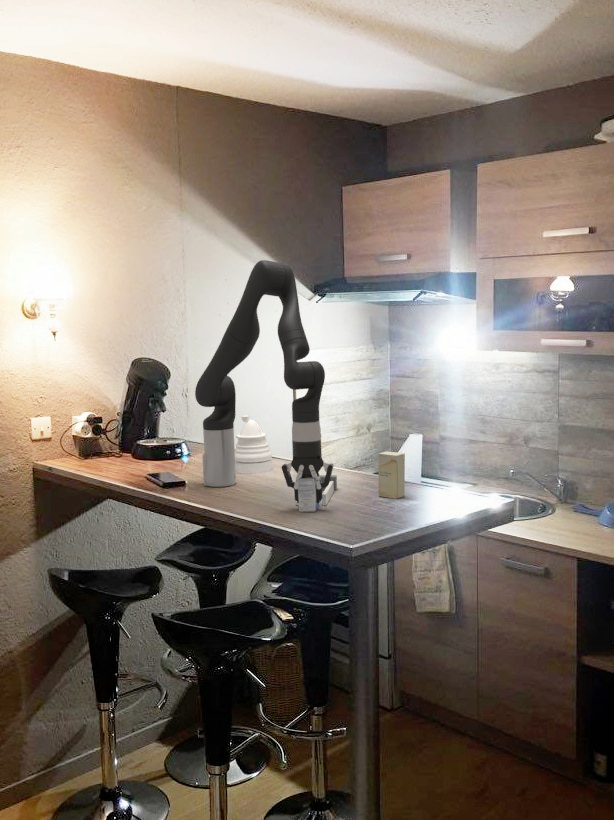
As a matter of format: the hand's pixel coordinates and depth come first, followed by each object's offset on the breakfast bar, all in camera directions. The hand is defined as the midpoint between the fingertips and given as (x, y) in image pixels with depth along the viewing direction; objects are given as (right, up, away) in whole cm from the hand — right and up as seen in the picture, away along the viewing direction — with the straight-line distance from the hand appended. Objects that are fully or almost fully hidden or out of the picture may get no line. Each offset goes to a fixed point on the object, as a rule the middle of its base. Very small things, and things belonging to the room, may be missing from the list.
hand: (308, 502), depth 221 cm
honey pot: (-18, +4, +58) cm, 61 cm away
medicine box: (0, -2, +1) cm, 2 cm away
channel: (+2, 0, +15) cm, 15 cm away
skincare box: (+23, 0, +12) cm, 26 cm away
